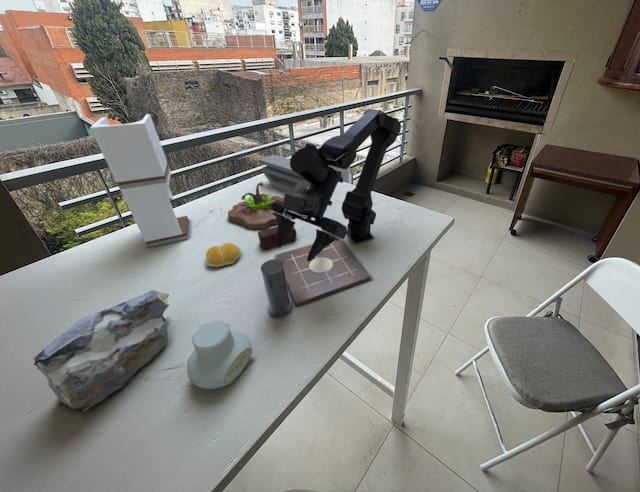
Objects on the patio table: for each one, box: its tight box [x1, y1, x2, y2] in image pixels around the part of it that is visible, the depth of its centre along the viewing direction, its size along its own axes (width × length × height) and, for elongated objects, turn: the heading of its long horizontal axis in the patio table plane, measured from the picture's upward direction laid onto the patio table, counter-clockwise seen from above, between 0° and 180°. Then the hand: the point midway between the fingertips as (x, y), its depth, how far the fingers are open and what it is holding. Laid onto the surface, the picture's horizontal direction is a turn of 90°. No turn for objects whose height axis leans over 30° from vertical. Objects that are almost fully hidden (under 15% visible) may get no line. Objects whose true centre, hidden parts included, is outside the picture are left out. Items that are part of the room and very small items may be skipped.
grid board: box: [275, 237, 371, 307], centre depth 78 cm, size 20×20×1 cm
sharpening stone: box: [258, 154, 310, 194], centre depth 117 cm, size 25×8×11 cm, turn 56°
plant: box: [227, 181, 284, 230], centre depth 99 cm, size 20×20×11 cm
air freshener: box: [186, 319, 253, 390], centre depth 51 cm, size 11×8×10 cm
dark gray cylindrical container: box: [260, 258, 292, 317], centre depth 62 cm, size 5×5×13 cm
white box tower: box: [89, 113, 190, 248], centre depth 81 cm, size 11×11×35 cm
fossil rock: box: [33, 289, 170, 413], centre depth 52 cm, size 20×9×15 cm, turn 153°
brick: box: [257, 225, 297, 250], centre depth 87 cm, size 11×4×5 cm, turn 123°
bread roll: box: [205, 242, 242, 268], centre depth 80 cm, size 8×9×4 cm
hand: (292, 253), depth 64 cm, fingers open, 9 cm apart
